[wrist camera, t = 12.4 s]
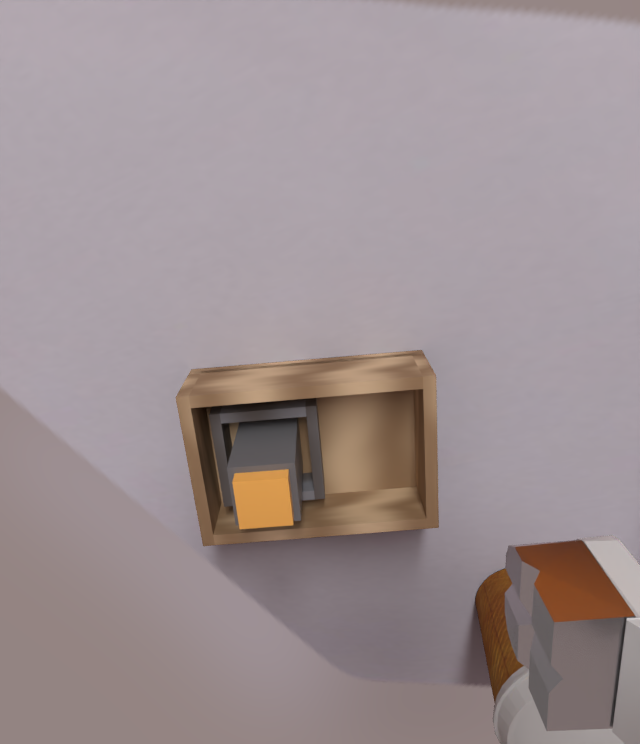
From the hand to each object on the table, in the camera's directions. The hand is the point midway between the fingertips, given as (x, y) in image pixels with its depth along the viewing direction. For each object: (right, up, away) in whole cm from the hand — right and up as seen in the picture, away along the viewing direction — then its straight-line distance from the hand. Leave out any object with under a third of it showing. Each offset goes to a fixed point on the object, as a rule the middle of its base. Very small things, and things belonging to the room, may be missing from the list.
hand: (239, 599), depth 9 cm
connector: (-2, -2, +33) cm, 33 cm away
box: (+1, -1, +33) cm, 33 cm away
